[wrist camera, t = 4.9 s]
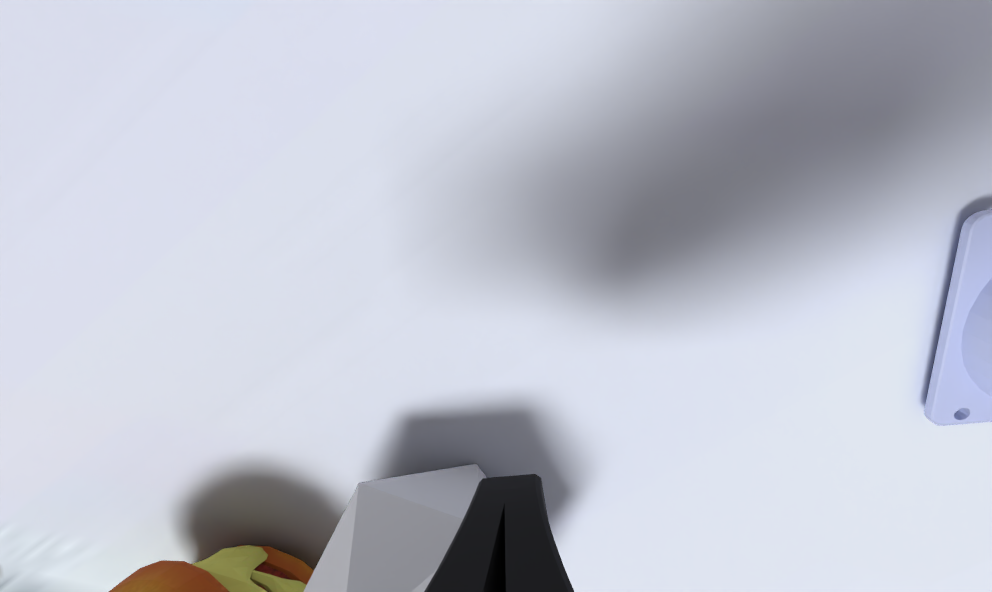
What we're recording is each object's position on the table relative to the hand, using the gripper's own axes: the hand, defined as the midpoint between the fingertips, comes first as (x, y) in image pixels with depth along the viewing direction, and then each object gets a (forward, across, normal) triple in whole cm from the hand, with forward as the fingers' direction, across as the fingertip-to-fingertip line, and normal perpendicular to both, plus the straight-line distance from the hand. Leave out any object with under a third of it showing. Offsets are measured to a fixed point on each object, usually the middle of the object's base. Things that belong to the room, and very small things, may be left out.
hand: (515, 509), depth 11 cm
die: (+3, +2, +4) cm, 5 cm away
